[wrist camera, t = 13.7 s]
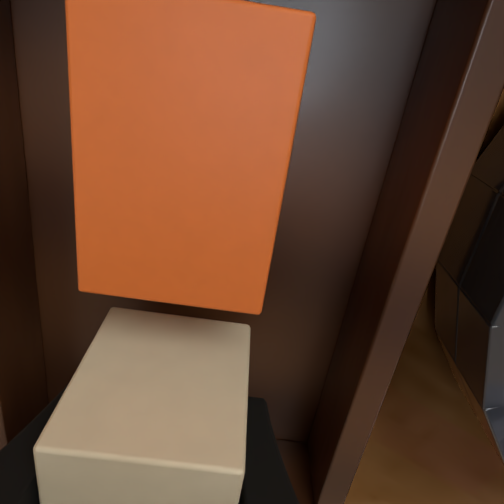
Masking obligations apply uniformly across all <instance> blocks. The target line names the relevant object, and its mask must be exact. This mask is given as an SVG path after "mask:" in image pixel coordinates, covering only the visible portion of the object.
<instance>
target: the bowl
mask: <svg viewBox="0 0 504 504" xmlns="http://www.w3.org/2000/svg"><path fill="white" fill-rule="evenodd" d="M435 328H436V333H437V336H438V338H439V341H440V343H441V345H442V348H443V350H444V353H445V355H446V357H447V360H448V362H449V365H450V367H451V370H452V372H453V374H454V377H455V379H456V382H457V383H458V385H459V387H460V389H461V390H462V392H463V394H464V396H465V398H466V399H467V401H468V403H469V405H470V406H471V408H472V410H473V412H474V414H475V415H476V417H477V418H478V420H479V423H480V424H481V426H482V428H483V430H484V431H485V433H486V435H487V437H488V438H489V440H490V442H491V444H492V446H493V447H494V449H495V451H496V453H497V454H498V456H499V458H500V460H501V462H502V463H503V465H504V125H503V126H502V128H501V129H500V130H499V132H498V133H497V134H496V136H495V137H494V138H493V140H492V141H491V142H490V144H489V145H488V146H487V148H486V149H485V150H484V152H483V153H482V154H481V156H480V157H479V158H478V160H477V161H476V163H475V164H474V166H473V169H472V171H471V174H470V176H469V179H468V182H467V184H466V187H465V189H464V192H463V195H462V197H461V200H460V202H459V205H458V208H457V210H456V213H455V215H454V218H453V221H452V223H451V226H450V228H449V231H448V234H447V236H446V239H445V241H444V244H443V247H442V249H441V252H440V254H439V257H438V260H437V262H436V291H435Z"/></svg>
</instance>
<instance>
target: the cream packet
mask: <svg viewBox="0 0 504 504" xmlns="http://www.w3.org/2000/svg"><path fill="white" fill-rule="evenodd" d="M250 331H251V328H250V326H249V325H247V324H240V323H233V322H225V321H217V320H210V319H202V318H194V317H186V316H179V315H171V314H163V313H156V312H148V311H140V310H133V309H125V308H117V307H112V308H110V310H109V312H108V314H107V316H106V317H105V319H104V321H103V323H102V325H101V326H100V328H99V330H98V332H97V334H96V335H95V337H94V339H93V341H92V343H91V344H90V346H89V348H88V350H87V352H86V353H85V355H84V357H83V359H82V361H81V362H80V364H79V366H78V368H77V370H76V372H75V373H74V375H73V377H72V379H71V381H70V382H69V384H68V386H67V388H66V390H65V391H64V393H63V395H62V397H61V399H60V400H59V402H58V404H57V406H56V408H55V409H54V411H53V413H52V415H51V417H50V418H49V420H48V422H47V424H46V426H45V427H44V429H43V431H42V433H41V435H40V436H39V438H38V440H37V442H36V444H35V445H34V447H33V454H34V462H35V470H36V478H37V485H38V493H39V501H40V504H238V503H239V498H240V494H241V489H242V484H243V479H244V474H245V460H246V434H247V408H248V382H249V356H250Z"/></svg>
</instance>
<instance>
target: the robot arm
mask: <svg viewBox="0 0 504 504" xmlns="http://www.w3.org/2000/svg"><path fill="white" fill-rule="evenodd" d="M67 386H68V385H67ZM67 386H66V387H65V388H64V389H63V390H62V391H61V392H60V393H59V394H58V395H57V396H56V397H55V398H54V399H53V400H52V401H51V402H50V403H49V404H48V405H47V406H46V407H45V408H44V409H43V410H42V411H41V412H40V413H39V414H38V415H37V416H36V417H35V418H34V419H33V420H32V421H31V422H30V423H29V424H28V425H27V426H26V427H25V428H24V429H22V430H21V431H20V432H19V433H18V434H17V435H16V436H15V437H14V438H13V439H12V440H11V441H10V442H9V443H8V444H7V445H5V446H4V447H3V448H2V449H1V450H0V504H40V501H39V493H38V485H37V478H36V470H35V462H34V454H33V447H34V445H35V444H36V442H37V440H38V438H39V436H40V435H41V433H42V431H43V429H44V427H45V426H46V424H47V422H48V420H49V418H50V417H51V415H52V413H53V411H54V409H55V408H56V406H57V404H58V402H59V400H60V399H61V397H62V395H63V393H64V391H65V390H66V388H67ZM238 504H299V501H298V499H297V496H296V494H295V491H294V489H293V487H292V484H291V481H290V479H289V476H288V473H287V471H286V468H285V465H284V462H283V460H282V457H281V454H280V451H279V448H278V445H277V441H276V438H275V435H274V431H273V428H272V424H271V420H270V416H269V412H268V407H267V402H266V401H265V400H264V399H263V398H258V397H250V396H248V408H247V434H246V460H245V474H244V479H243V484H242V489H241V494H240V498H239V503H238Z"/></svg>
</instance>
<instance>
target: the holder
mask: <svg viewBox="0 0 504 504" xmlns="http://www.w3.org/2000/svg"><path fill="white" fill-rule="evenodd" d="M244 1H250V2H256V3H262V4H268V5H274V6H280V7H286V8H292V9H299V10H305V11H311V12H313V13H314V14H316V23H315V28H314V34H313V39H312V44H311V50H310V55H309V60H308V66H307V71H306V77H305V82H304V87H303V93H302V98H301V103H300V109H299V114H298V119H297V125H296V130H295V136H294V141H293V146H292V152H291V157H290V162H289V168H288V173H287V179H286V184H285V189H284V195H283V200H282V205H281V211H280V216H279V221H278V227H277V232H276V238H275V243H274V248H273V254H272V259H271V264H270V270H269V275H268V280H267V286H266V291H265V297H264V302H263V307H262V312H261V313H260V314H259V315H255V314H247V313H240V312H232V311H224V310H217V309H209V308H202V307H194V306H186V305H179V304H171V303H163V302H156V301H148V300H141V299H133V298H125V297H118V296H110V295H103V294H95V293H87V292H81V291H79V289H78V273H77V252H76V230H75V208H74V186H73V164H72V142H71V121H70V99H69V77H68V55H67V33H66V11H65V0H0V450H1V449H2V448H3V447H4V446H5V445H7V444H8V443H9V442H10V441H11V440H12V439H13V438H14V437H15V436H16V435H17V434H18V433H19V432H20V431H21V430H22V429H24V428H25V427H26V426H27V425H28V424H29V423H30V422H31V421H32V420H33V419H34V418H35V417H36V416H37V415H38V414H39V413H40V412H41V411H42V410H43V409H44V408H45V407H46V406H47V405H48V404H49V403H50V402H51V401H52V400H53V399H54V398H55V397H56V396H57V395H58V394H59V393H60V392H61V391H62V390H63V389H64V388H65V387H66V386H67V385H68V384H69V382H70V381H71V379H72V377H73V375H74V373H75V372H76V370H77V368H78V366H79V364H80V362H81V361H82V359H83V357H84V355H85V353H86V352H87V350H88V348H89V346H90V344H91V343H92V341H93V339H94V337H95V335H96V334H97V332H98V330H99V328H100V326H101V325H102V323H103V321H104V319H105V317H106V316H107V314H108V312H109V310H110V308H112V307H117V308H125V309H133V310H140V311H148V312H156V313H163V314H171V315H179V316H186V317H194V318H202V319H210V320H217V321H225V322H233V323H240V324H247V325H249V326H250V328H251V331H250V356H249V382H248V396H250V397H258V398H263V399H264V400H265V401H266V402H267V407H268V412H269V416H270V420H271V424H272V428H273V431H274V435H275V438H276V441H277V445H278V448H279V451H280V454H281V457H282V460H283V462H284V465H285V468H286V471H287V473H288V476H289V479H290V481H291V484H292V487H293V489H294V491H295V494H296V496H297V499H298V501H299V504H344V501H345V499H346V496H347V494H348V491H349V488H350V486H351V483H352V481H353V478H354V475H355V473H356V470H357V468H358V465H359V462H360V460H361V457H362V455H363V452H364V449H365V447H366V444H367V442H368V439H369V436H370V434H371V431H372V429H373V426H374V423H375V421H376V418H377V416H378V413H379V410H380V408H381V405H382V403H383V400H384V397H385V395H386V392H387V390H388V387H389V384H390V382H391V379H392V377H393V374H394V371H395V369H396V366H397V364H398V361H399V358H400V356H401V353H402V351H403V348H404V345H405V343H406V340H407V338H408V335H409V332H410V330H411V327H412V325H413V322H414V319H415V317H416V314H417V312H418V309H419V306H420V304H421V301H422V299H423V296H424V293H425V291H426V288H427V286H428V283H429V280H430V278H431V275H432V273H433V270H434V267H435V265H436V262H437V260H438V257H439V254H440V252H441V249H442V247H443V244H444V241H445V239H446V236H447V234H448V231H449V228H450V226H451V223H452V221H453V218H454V215H455V213H456V210H457V208H458V205H459V202H460V200H461V197H462V195H463V192H464V189H465V187H466V184H467V182H468V179H469V176H470V174H471V171H472V169H473V166H474V163H475V161H476V158H477V156H478V153H479V150H480V148H481V145H482V143H483V140H484V137H485V135H486V132H487V130H488V127H489V124H490V122H491V119H492V117H493V114H494V111H495V109H496V106H497V104H498V101H499V98H500V96H501V93H502V91H503V88H504V0H244Z"/></svg>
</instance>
